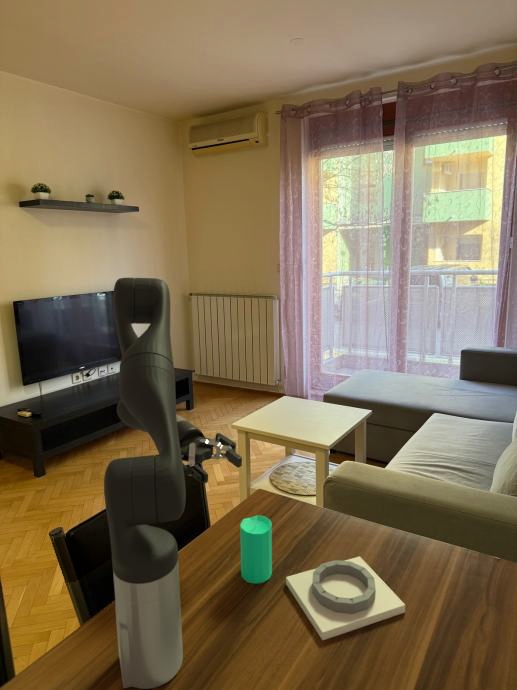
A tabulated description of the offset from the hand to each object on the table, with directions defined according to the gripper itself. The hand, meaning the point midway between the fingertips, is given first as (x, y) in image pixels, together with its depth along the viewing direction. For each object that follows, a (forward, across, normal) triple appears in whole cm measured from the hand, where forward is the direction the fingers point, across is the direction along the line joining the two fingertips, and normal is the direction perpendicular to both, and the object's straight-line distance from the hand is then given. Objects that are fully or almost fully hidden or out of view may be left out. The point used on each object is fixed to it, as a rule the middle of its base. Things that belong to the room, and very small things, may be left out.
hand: (224, 471), depth 94 cm
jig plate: (+27, +6, +14) cm, 31 cm away
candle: (+12, 0, +17) cm, 20 cm away
